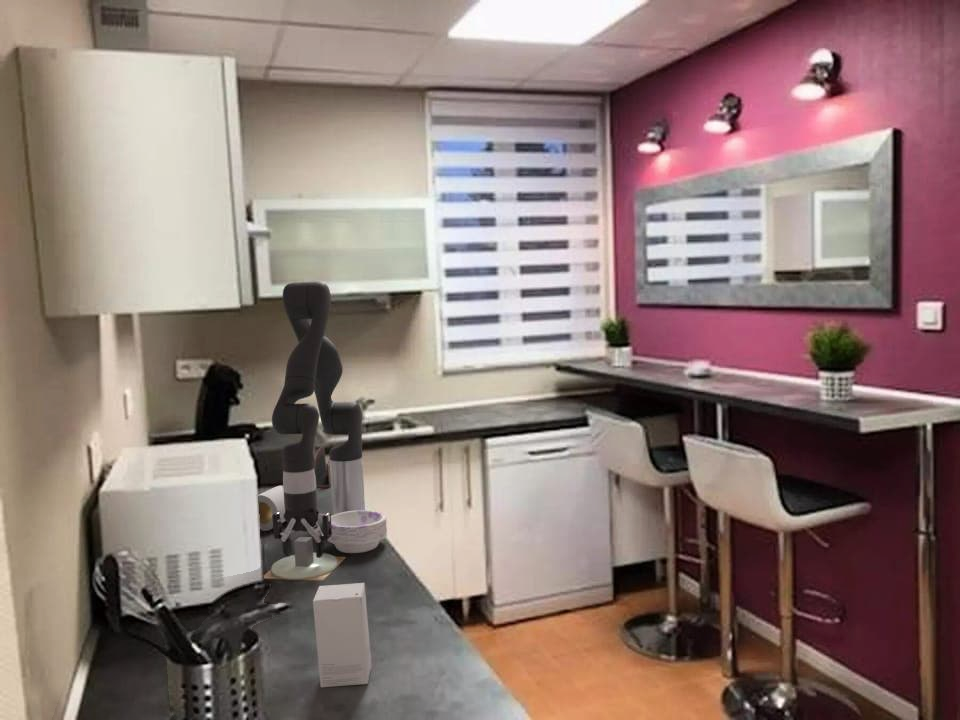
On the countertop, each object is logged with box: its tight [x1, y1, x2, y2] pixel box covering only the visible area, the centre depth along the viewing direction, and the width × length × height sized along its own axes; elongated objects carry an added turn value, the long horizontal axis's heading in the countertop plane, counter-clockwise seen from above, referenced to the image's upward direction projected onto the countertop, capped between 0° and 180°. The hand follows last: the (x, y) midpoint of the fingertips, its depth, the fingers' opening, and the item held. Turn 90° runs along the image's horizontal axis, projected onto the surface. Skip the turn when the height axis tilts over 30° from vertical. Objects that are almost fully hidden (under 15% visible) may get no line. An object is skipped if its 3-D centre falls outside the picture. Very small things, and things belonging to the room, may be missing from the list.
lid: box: [271, 536, 338, 581], centre depth 186 cm, size 15×15×7 cm
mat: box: [263, 554, 347, 582], centre depth 186 cm, size 15×15×1 cm
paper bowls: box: [327, 509, 388, 554], centre depth 199 cm, size 15×15×8 cm
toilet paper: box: [258, 485, 287, 532], centre depth 221 cm, size 10×10×10 cm
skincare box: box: [312, 582, 372, 688], centre depth 134 cm, size 8×7×16 cm
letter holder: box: [313, 445, 331, 489], centre depth 268 cm, size 10×20×14 cm, turn 1°
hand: (304, 556), depth 186 cm, fingers open, 7 cm apart
